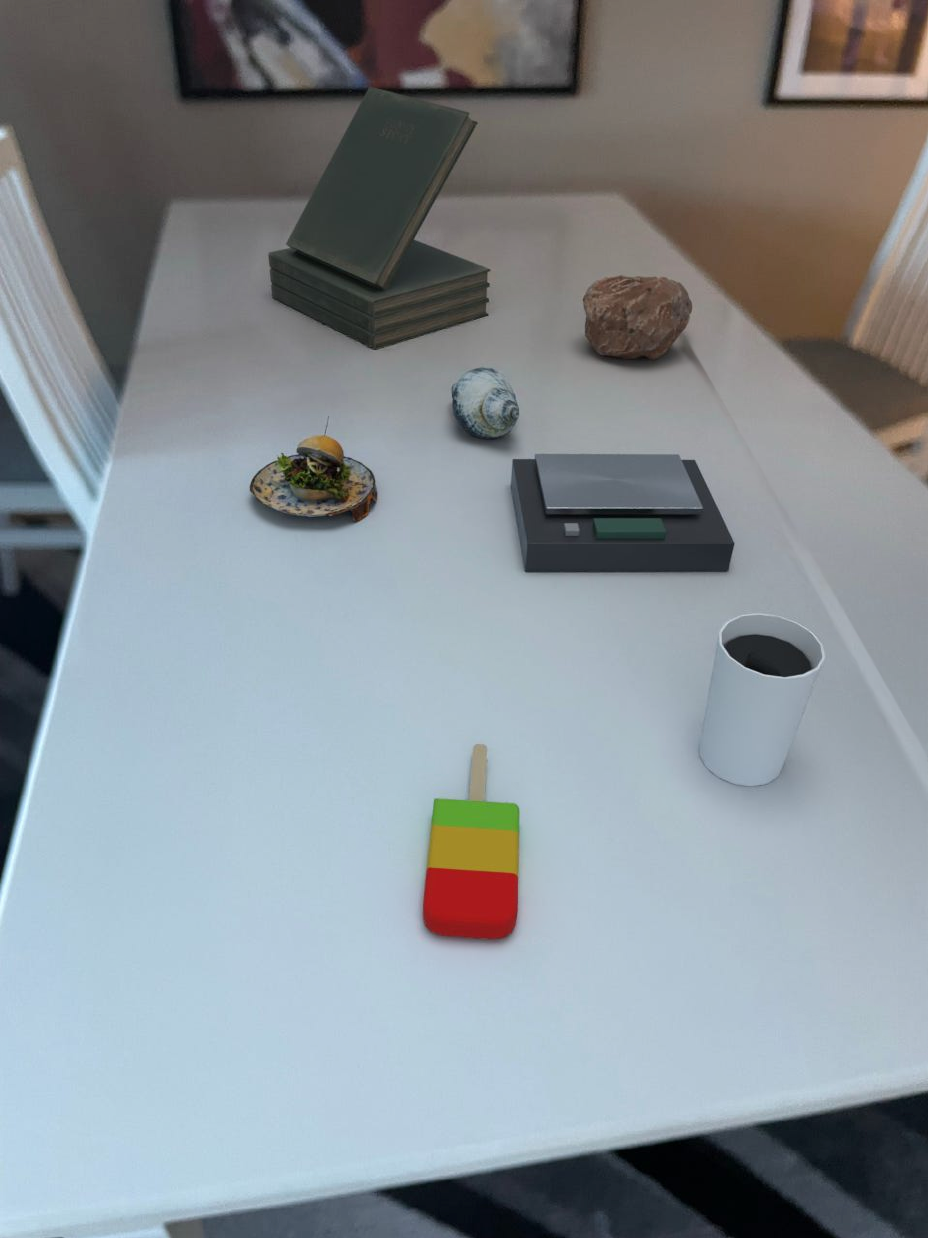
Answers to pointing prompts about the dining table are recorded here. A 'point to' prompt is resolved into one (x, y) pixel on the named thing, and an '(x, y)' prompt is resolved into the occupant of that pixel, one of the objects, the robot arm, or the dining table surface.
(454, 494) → the dining table surface
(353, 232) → the stack of books
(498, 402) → the seashell
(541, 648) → the dining table surface
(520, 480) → the scale
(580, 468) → the scale pan
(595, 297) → the decorative rock
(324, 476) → the burger
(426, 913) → the popsicle
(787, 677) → the white hollow cylinder
